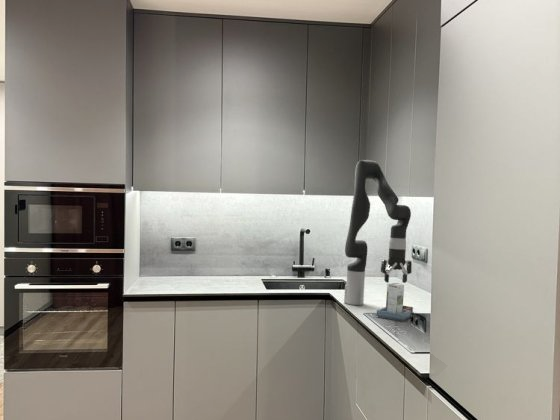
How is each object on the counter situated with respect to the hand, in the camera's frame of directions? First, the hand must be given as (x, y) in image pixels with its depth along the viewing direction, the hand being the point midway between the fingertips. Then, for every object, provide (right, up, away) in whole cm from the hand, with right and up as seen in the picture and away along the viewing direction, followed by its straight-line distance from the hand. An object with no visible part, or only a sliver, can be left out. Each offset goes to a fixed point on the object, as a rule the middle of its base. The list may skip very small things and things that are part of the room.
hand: (395, 282), depth 214 cm
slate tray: (-1, -16, 0) cm, 16 cm away
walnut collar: (+5, -16, +12) cm, 21 cm away
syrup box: (-1, -15, 0) cm, 15 cm away
